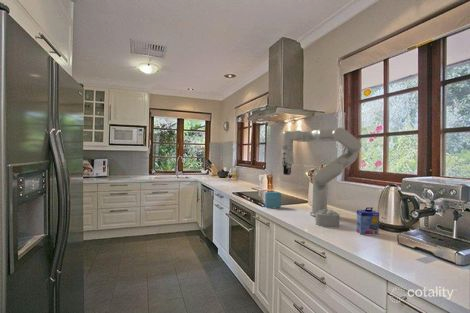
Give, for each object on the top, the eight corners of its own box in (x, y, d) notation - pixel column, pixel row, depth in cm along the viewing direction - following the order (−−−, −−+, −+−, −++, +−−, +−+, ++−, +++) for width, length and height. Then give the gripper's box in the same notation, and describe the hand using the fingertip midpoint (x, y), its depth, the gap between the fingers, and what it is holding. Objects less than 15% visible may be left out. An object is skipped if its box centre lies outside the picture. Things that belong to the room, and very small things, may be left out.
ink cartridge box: (360, 235, 126) (361, 207, 126) (355, 231, 132) (356, 205, 132) (379, 235, 126) (380, 208, 126) (373, 231, 132) (373, 205, 132)
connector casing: (291, 174, 172) (291, 165, 172) (288, 175, 169) (288, 165, 169) (285, 174, 175) (285, 164, 175) (282, 174, 172) (283, 165, 172)
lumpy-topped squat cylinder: (341, 227, 139) (341, 212, 139) (319, 227, 138) (319, 212, 138) (333, 222, 149) (333, 208, 149) (312, 222, 149) (313, 208, 149)
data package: (279, 206, 191) (279, 191, 191) (281, 207, 187) (281, 192, 187) (264, 206, 191) (265, 191, 190) (265, 208, 186) (266, 192, 186)
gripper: (287, 148, 163) (286, 174, 163) (297, 148, 176) (297, 173, 176) (277, 148, 168) (276, 174, 168) (288, 148, 181) (287, 172, 181)
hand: (287, 173), depth 172 cm, fingers closed on connector casing, 4 cm apart
